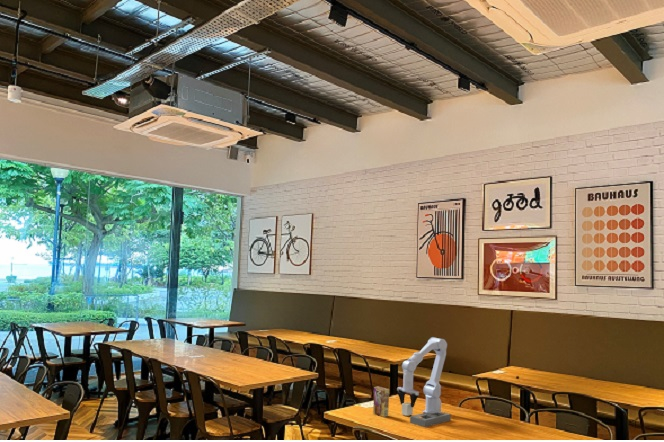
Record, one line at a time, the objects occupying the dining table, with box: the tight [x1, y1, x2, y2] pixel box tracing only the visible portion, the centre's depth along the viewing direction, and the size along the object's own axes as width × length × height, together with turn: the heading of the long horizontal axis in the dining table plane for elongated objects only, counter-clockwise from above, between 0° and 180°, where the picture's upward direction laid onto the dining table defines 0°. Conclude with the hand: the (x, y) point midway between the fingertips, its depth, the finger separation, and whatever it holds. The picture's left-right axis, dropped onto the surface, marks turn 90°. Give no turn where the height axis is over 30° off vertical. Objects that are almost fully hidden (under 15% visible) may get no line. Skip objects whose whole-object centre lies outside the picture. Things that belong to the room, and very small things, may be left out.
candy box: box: [372, 386, 390, 418], centre depth 300 cm, size 9×4×15 cm, turn 39°
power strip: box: [409, 410, 452, 428], centre depth 290 cm, size 24×10×4 cm, turn 132°
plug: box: [401, 401, 414, 417], centre depth 301 cm, size 5×4×7 cm
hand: (407, 405), depth 302 cm, fingers open, 7 cm apart
